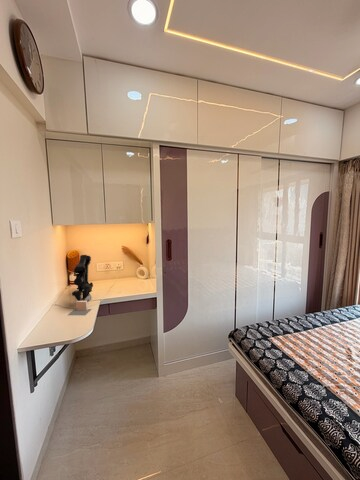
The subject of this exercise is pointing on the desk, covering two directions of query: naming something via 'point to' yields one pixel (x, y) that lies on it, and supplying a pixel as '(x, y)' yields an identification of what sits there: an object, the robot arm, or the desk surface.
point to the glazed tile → (81, 305)
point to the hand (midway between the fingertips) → (82, 299)
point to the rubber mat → (79, 312)
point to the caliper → (86, 299)
